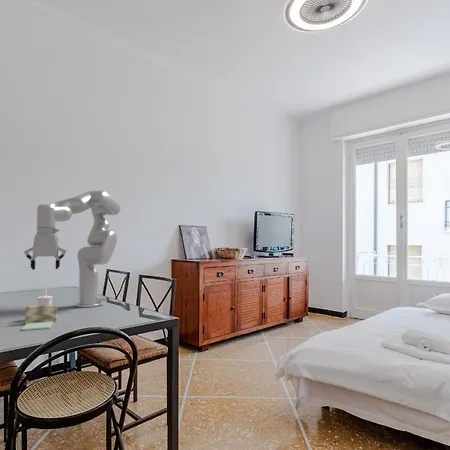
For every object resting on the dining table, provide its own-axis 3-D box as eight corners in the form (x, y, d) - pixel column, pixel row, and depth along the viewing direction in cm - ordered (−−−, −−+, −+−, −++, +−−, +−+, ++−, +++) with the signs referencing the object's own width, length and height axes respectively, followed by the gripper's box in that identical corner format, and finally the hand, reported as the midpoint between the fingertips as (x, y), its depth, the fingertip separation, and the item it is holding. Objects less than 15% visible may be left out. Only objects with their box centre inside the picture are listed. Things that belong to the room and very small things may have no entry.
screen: (57, 320, 157) (57, 304, 157) (56, 321, 154) (56, 305, 154) (26, 322, 153) (27, 306, 153) (25, 324, 150) (25, 307, 150)
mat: (53, 322, 152) (53, 321, 152) (49, 328, 143) (49, 327, 143) (26, 324, 149) (27, 323, 149) (21, 330, 140) (21, 329, 140)
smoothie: (55, 316, 164) (55, 286, 165) (48, 319, 158) (49, 288, 158) (41, 316, 164) (41, 286, 165) (34, 319, 158) (34, 288, 158)
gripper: (67, 231, 169) (66, 268, 168) (26, 231, 163) (26, 269, 163) (65, 231, 161) (64, 269, 161) (22, 231, 156) (22, 270, 156)
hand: (45, 269), depth 162 cm, fingers open, 9 cm apart
